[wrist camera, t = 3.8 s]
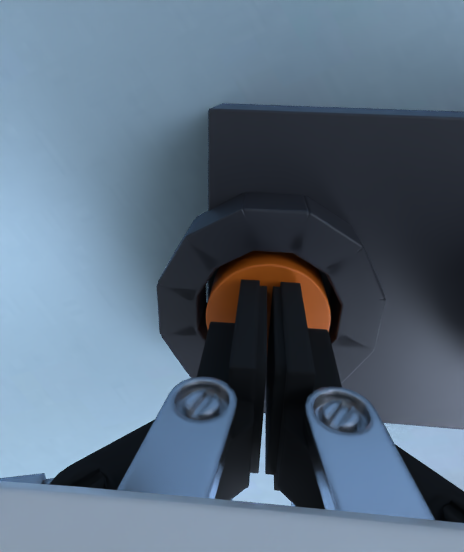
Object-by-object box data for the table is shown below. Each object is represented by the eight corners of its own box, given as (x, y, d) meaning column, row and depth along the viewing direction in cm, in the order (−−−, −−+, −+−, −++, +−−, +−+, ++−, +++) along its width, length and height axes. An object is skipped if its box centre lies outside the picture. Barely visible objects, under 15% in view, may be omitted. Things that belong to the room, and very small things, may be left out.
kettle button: (212, 334, 14) (205, 367, 12) (213, 238, 12) (205, 260, 11) (316, 342, 14) (322, 375, 12) (330, 244, 12) (340, 268, 11)
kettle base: (190, 357, 19) (165, 443, 14) (185, 102, 14) (145, 110, 9) (575, 385, 18) (680, 488, 13) (713, 120, 13) (953, 139, 8)
